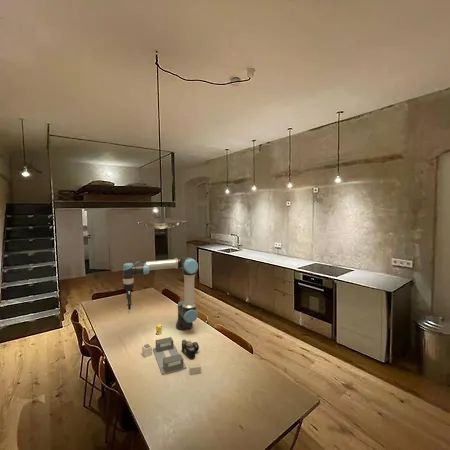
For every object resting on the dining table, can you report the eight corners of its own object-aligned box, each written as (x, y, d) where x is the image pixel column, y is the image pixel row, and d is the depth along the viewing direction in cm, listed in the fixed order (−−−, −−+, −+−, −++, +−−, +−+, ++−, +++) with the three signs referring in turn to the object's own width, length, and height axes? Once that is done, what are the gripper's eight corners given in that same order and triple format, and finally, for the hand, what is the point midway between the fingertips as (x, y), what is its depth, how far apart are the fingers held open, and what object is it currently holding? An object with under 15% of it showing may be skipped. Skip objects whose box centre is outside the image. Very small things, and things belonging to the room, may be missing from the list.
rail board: (173, 345, 206) (173, 336, 206) (186, 368, 175) (186, 358, 175) (152, 349, 199) (152, 340, 199) (162, 375, 168) (162, 364, 168)
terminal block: (199, 369, 174) (199, 363, 174) (200, 373, 171) (200, 366, 170) (189, 371, 173) (189, 364, 172) (190, 375, 169) (190, 368, 169)
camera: (202, 356, 191) (202, 342, 191) (190, 360, 185) (189, 346, 185) (192, 346, 204) (192, 334, 203) (180, 351, 198) (180, 337, 197)
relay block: (148, 351, 197) (148, 342, 196) (152, 355, 192) (152, 346, 192) (142, 354, 194) (142, 345, 193) (145, 357, 189) (145, 348, 189)
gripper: (122, 279, 214) (123, 305, 215) (123, 288, 191) (124, 316, 192) (132, 279, 217) (133, 304, 218) (134, 287, 194) (135, 315, 195)
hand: (129, 310), depth 205 cm, fingers open, 13 cm apart
